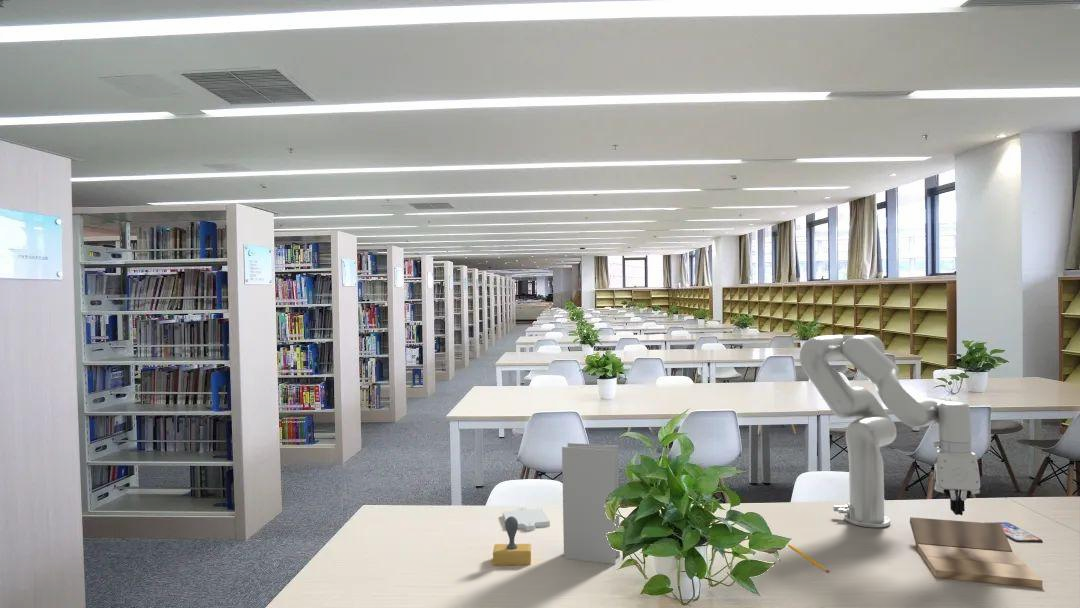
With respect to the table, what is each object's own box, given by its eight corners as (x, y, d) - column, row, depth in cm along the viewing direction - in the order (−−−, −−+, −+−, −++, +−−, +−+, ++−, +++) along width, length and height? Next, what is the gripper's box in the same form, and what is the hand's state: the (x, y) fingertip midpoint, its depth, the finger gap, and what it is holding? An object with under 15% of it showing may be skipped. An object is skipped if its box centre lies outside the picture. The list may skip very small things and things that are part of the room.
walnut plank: (916, 547, 177) (917, 542, 176) (909, 521, 185) (910, 517, 184) (1011, 555, 170) (1012, 551, 170) (1000, 528, 178) (1001, 524, 177)
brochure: (620, 556, 176) (618, 445, 175) (615, 564, 170) (613, 450, 170) (569, 550, 180) (567, 442, 180) (563, 558, 175) (562, 447, 175)
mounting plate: (501, 515, 213) (501, 509, 213) (540, 511, 215) (540, 506, 215) (509, 533, 195) (509, 527, 195) (551, 530, 198) (551, 523, 198)
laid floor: (935, 577, 159) (935, 570, 159) (917, 550, 176) (917, 544, 176) (1042, 588, 152) (1042, 580, 152) (1013, 559, 169) (1012, 552, 169)
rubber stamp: (492, 566, 171) (492, 520, 171) (494, 557, 177) (494, 513, 177) (530, 565, 171) (529, 520, 171) (531, 556, 177) (530, 512, 177)
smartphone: (1015, 540, 181) (982, 522, 196) (1015, 543, 181) (982, 525, 196) (1043, 540, 180) (1008, 522, 195) (1044, 543, 180) (1008, 525, 195)
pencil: (826, 573, 163) (826, 570, 163) (786, 545, 182) (786, 543, 182) (829, 573, 163) (829, 570, 163) (788, 545, 182) (788, 543, 182)
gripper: (928, 448, 178) (930, 515, 178) (991, 450, 173) (994, 519, 173) (921, 443, 185) (923, 507, 185) (981, 445, 180) (984, 511, 180)
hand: (957, 513), depth 179 cm, fingers closed
